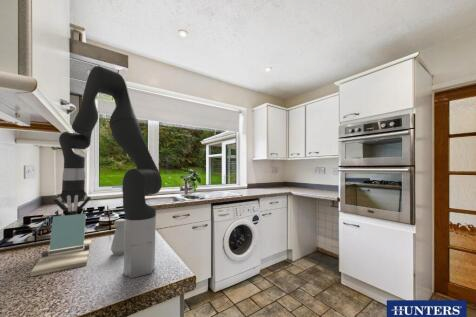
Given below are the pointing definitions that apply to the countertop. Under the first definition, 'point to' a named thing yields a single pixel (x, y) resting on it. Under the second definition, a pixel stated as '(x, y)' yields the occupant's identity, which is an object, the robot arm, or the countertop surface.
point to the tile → (67, 233)
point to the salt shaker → (118, 237)
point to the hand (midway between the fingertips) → (72, 219)
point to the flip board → (62, 259)
